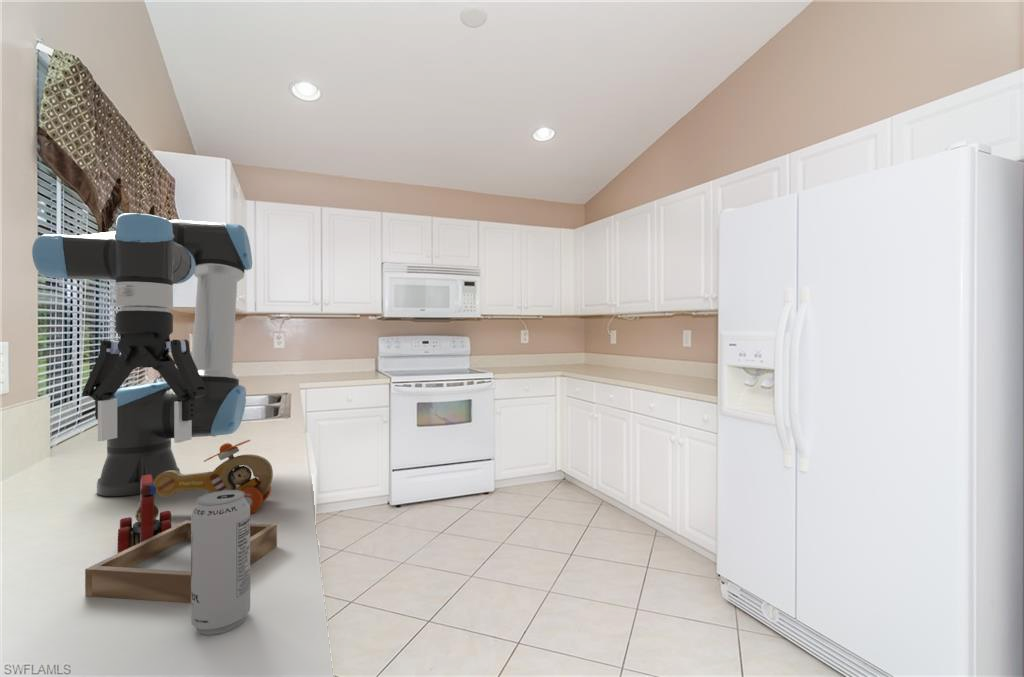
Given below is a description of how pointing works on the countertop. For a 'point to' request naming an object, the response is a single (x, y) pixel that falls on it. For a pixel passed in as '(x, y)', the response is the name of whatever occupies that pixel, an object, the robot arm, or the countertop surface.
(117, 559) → the brown wooden tray
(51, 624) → the countertop surface
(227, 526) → the energy drink can
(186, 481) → the toy helicopter
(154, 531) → the toy fire truck
